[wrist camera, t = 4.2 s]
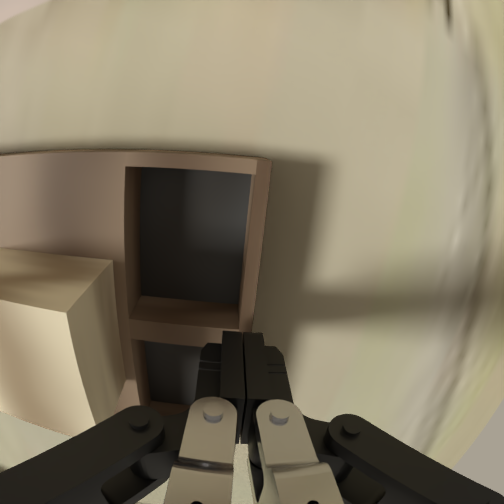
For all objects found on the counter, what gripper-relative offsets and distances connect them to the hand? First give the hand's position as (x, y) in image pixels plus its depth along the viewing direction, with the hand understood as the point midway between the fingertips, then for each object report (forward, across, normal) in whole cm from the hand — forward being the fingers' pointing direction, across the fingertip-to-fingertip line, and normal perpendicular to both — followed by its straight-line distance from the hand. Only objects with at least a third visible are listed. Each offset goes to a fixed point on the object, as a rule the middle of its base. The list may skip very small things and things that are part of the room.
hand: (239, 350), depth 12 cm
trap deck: (+3, +10, 0) cm, 11 cm away
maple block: (+1, +8, 0) cm, 8 cm away
